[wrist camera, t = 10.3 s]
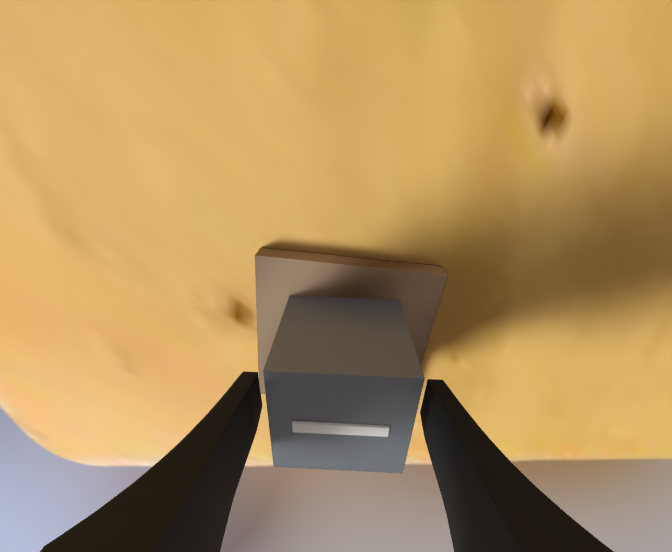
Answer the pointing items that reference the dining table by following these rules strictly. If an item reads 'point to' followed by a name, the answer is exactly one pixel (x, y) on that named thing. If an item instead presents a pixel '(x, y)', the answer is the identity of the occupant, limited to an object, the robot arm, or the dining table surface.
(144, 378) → the dining table surface
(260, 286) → the base
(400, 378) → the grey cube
